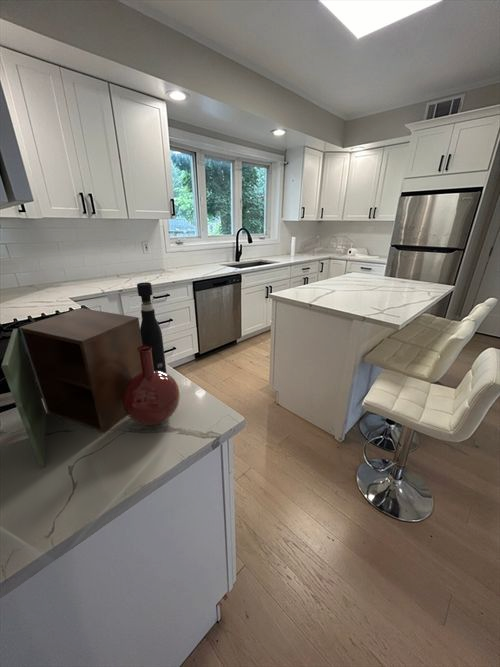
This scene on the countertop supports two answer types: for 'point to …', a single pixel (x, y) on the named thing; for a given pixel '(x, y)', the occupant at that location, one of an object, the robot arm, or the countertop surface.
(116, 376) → the cupboard
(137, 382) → the round-bottom flask
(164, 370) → the wine bottle
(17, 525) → the countertop surface
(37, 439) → the cupboard door
